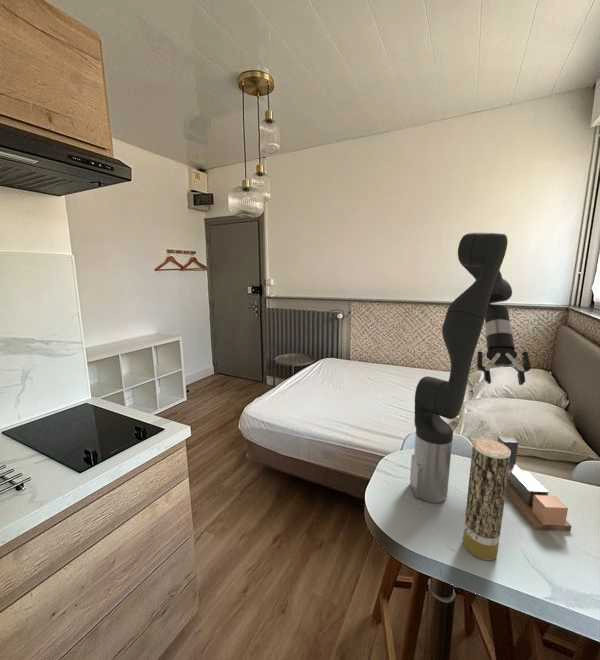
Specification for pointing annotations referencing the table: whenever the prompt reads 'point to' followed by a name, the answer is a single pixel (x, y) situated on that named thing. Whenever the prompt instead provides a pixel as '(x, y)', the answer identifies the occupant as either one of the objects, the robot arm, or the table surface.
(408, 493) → the table surface
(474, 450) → the bark covered log
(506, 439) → the brushed grey metal block
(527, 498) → the outer sleeve
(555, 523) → the socket
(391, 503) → the table surface
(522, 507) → the guide board
